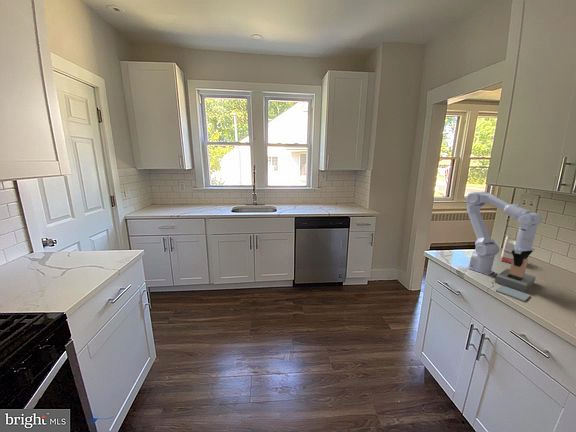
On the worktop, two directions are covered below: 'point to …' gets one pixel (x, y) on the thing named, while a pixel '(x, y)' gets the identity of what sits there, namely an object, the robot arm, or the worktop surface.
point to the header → (515, 280)
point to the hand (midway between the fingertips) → (518, 264)
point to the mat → (513, 293)
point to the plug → (518, 268)
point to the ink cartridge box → (508, 251)
